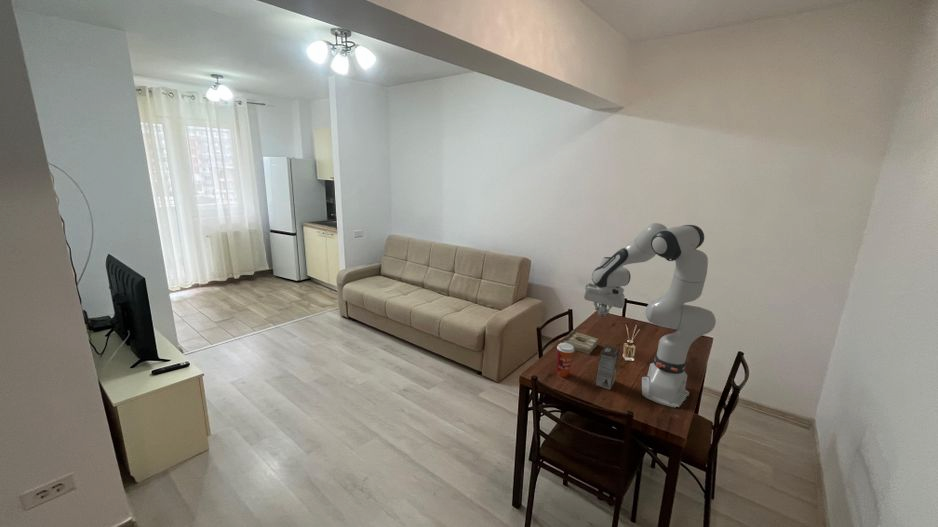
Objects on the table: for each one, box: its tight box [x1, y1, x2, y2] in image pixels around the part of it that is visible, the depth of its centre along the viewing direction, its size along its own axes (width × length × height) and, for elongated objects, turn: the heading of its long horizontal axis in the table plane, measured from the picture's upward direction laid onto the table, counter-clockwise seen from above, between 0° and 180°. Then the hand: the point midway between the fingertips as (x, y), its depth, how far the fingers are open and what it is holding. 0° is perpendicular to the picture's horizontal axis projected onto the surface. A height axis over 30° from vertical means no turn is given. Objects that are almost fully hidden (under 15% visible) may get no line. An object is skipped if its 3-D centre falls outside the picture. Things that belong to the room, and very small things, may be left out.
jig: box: [563, 329, 599, 355], centre depth 199 cm, size 14×14×5 cm
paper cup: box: [555, 342, 575, 378], centre depth 169 cm, size 8×8×14 cm
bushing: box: [597, 303, 608, 318], centre depth 197 cm, size 4×4×7 cm
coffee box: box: [595, 344, 621, 390], centre depth 163 cm, size 9×6×16 cm
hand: (601, 311), depth 197 cm, fingers closed on bushing, 4 cm apart
